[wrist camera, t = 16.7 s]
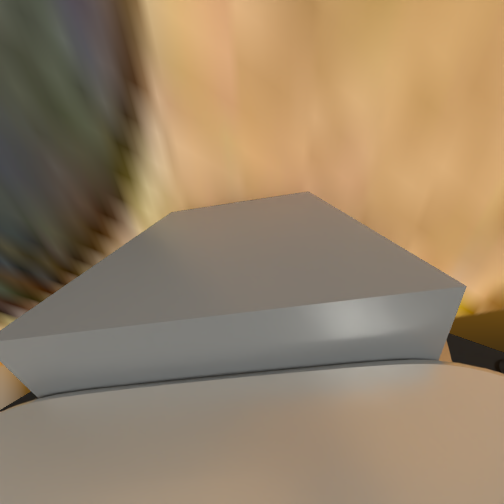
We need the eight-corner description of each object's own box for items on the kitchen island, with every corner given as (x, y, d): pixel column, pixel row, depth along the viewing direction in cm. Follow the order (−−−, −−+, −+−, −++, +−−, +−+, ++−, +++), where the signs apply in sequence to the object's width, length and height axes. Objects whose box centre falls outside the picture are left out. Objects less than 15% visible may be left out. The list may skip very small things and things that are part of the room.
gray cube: (308, 191, 11) (466, 285, 3) (311, 303, 14) (388, 490, 6) (171, 212, 11) (-18, 343, 3) (204, 315, 15) (149, 506, 7)
